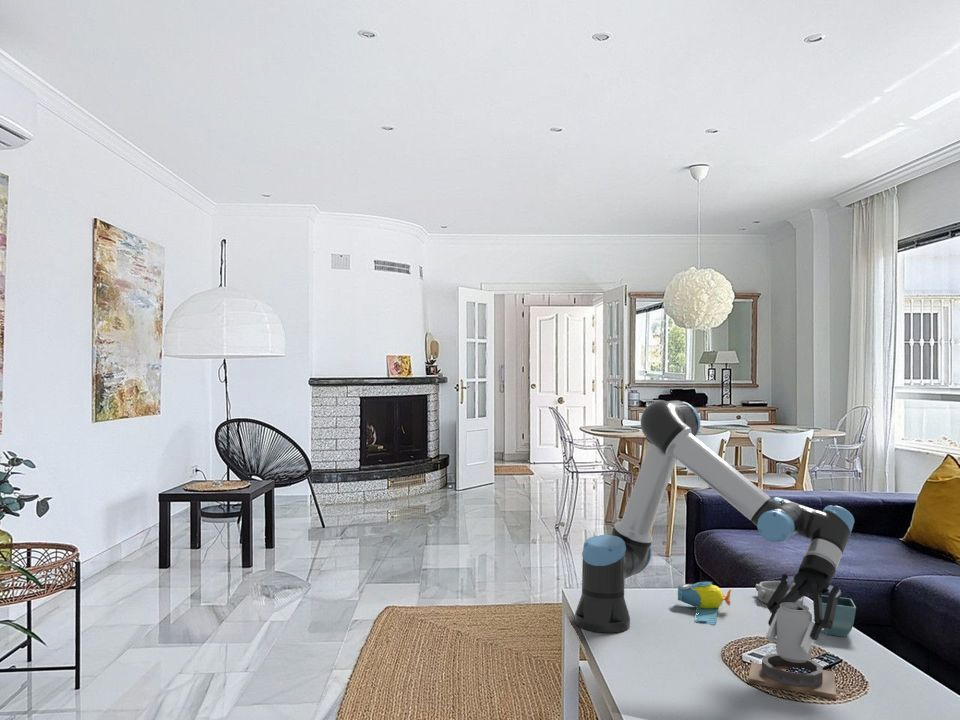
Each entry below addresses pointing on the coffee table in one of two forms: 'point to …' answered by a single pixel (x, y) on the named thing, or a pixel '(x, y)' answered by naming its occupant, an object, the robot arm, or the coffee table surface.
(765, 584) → the dish
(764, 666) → the can holder
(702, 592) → the blue yellow plastic figure
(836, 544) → the robot arm
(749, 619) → the coffee table surface
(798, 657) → the can
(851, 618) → the flower pot
